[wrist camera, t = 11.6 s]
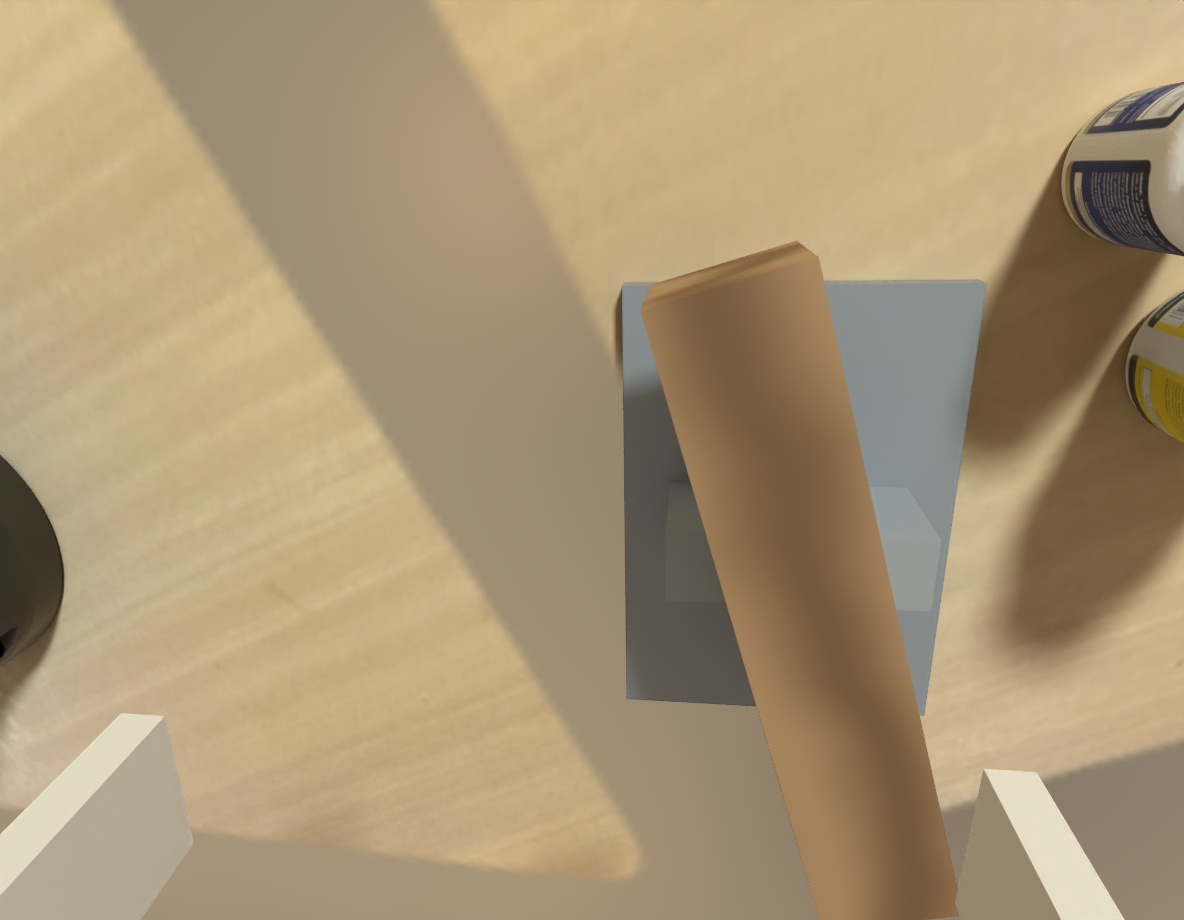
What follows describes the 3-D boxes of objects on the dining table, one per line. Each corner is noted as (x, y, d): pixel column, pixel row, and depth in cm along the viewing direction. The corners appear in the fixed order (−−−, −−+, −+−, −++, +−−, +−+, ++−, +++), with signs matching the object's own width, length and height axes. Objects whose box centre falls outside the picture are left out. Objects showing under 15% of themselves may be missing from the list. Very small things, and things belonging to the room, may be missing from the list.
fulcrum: (628, 686, 40) (617, 771, 34) (624, 282, 33) (609, 306, 27) (918, 702, 38) (956, 794, 33) (978, 279, 31) (1039, 304, 26)
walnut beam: (805, 827, 34) (822, 931, 30) (649, 285, 27) (640, 310, 22) (925, 810, 33) (963, 915, 28) (796, 240, 26) (818, 257, 21)
